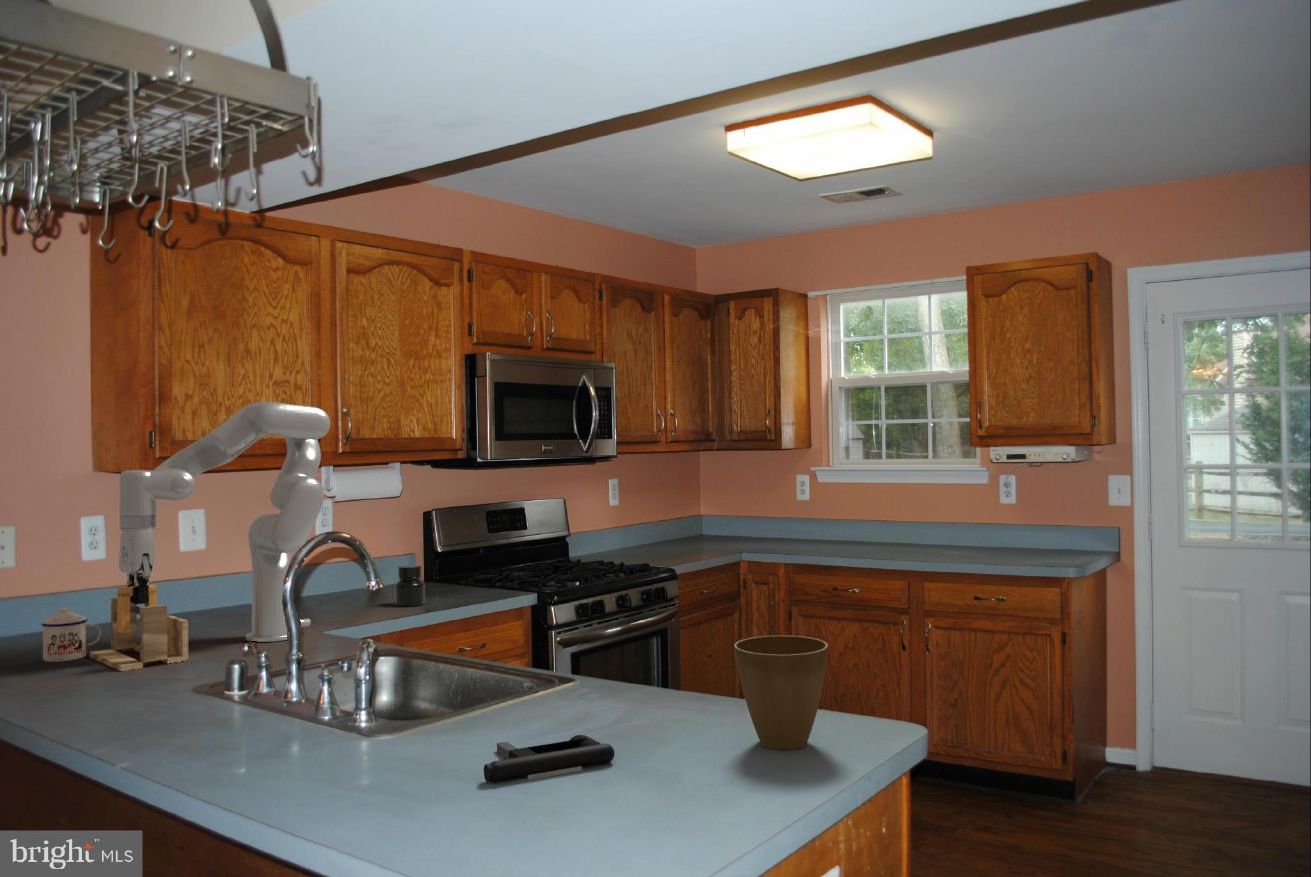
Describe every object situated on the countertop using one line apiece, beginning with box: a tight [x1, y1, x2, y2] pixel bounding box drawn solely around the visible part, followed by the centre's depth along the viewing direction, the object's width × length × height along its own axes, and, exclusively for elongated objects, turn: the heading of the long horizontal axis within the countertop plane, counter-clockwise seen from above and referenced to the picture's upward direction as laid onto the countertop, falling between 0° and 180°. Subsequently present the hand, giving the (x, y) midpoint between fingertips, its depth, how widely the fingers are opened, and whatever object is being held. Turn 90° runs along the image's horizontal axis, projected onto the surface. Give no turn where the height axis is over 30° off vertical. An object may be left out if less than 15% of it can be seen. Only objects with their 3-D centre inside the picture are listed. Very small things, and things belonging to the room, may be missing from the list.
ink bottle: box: [394, 564, 426, 608], centre depth 296 cm, size 10×9×12 cm
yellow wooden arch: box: [116, 584, 158, 633], centre depth 221 cm, size 8×3×10 cm, turn 136°
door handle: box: [483, 734, 616, 784], centre depth 146 cm, size 3×20×16 cm
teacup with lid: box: [41, 607, 103, 663], centre depth 224 cm, size 12×9×12 cm
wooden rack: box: [89, 597, 189, 672], centre depth 221 cm, size 22×14×13 cm, turn 46°
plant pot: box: [734, 635, 829, 751], centre depth 154 cm, size 15×15×16 cm
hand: (138, 602), depth 221 cm, fingers closed on yellow wooden arch, 3 cm apart
